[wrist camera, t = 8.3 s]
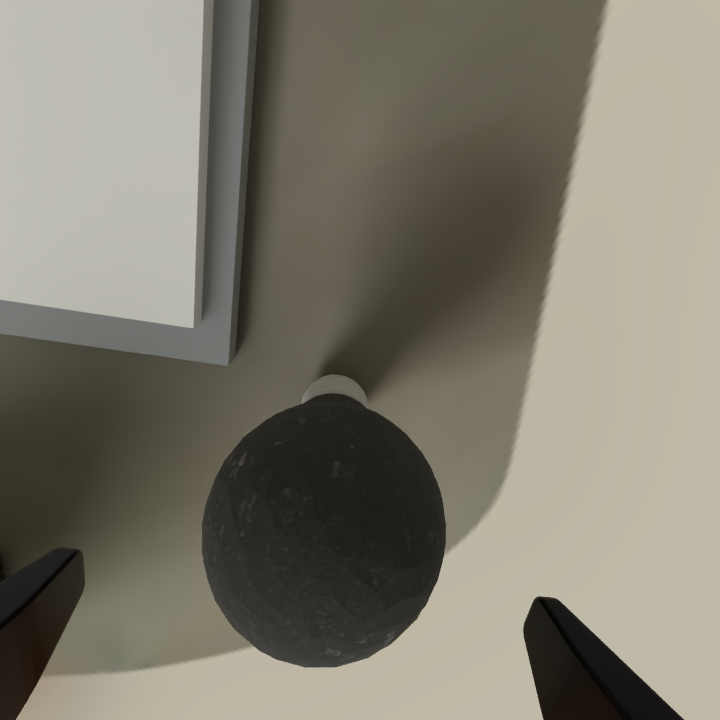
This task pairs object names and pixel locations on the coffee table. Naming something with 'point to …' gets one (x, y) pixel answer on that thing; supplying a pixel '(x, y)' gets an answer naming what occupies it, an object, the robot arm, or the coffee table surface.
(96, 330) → the scale
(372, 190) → the coffee table surface
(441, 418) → the coffee table surface
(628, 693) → the robot arm
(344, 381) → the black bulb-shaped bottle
